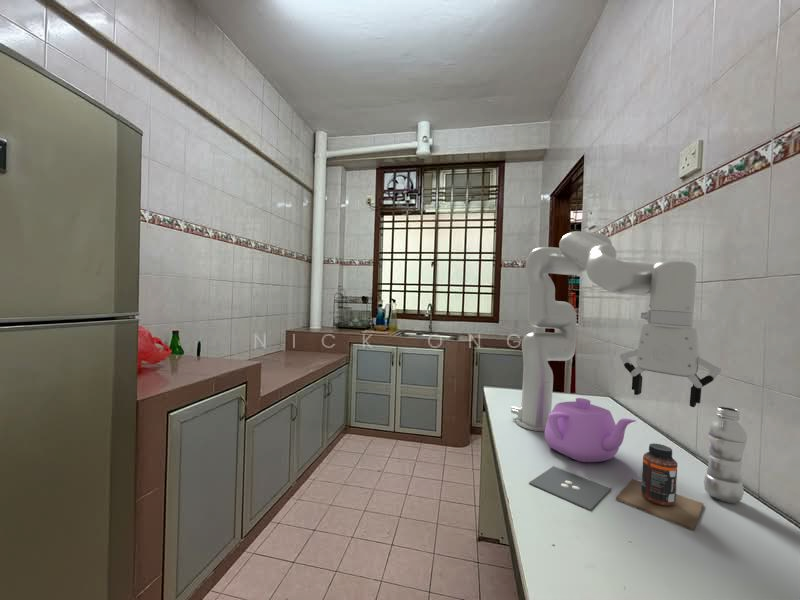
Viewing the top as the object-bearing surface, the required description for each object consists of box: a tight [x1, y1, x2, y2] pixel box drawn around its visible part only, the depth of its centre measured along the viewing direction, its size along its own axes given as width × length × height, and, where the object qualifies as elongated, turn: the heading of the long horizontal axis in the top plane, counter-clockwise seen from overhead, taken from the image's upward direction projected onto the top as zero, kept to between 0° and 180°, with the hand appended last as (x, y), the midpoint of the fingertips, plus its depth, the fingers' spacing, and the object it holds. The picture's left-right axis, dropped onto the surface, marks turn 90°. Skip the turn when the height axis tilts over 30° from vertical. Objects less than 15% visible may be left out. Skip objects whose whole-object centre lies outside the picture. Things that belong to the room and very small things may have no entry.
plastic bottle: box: [703, 406, 748, 504], centre depth 79 cm, size 6×7×20 cm
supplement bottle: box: [641, 443, 678, 506], centre depth 76 cm, size 6×6×11 cm
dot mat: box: [528, 465, 612, 511], centre depth 80 cm, size 13×13×1 cm
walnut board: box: [615, 478, 704, 531], centre depth 76 cm, size 13×13×1 cm
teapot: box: [544, 397, 637, 463], centre depth 96 cm, size 23×21×15 cm
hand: (664, 399), depth 76 cm, fingers open, 9 cm apart
